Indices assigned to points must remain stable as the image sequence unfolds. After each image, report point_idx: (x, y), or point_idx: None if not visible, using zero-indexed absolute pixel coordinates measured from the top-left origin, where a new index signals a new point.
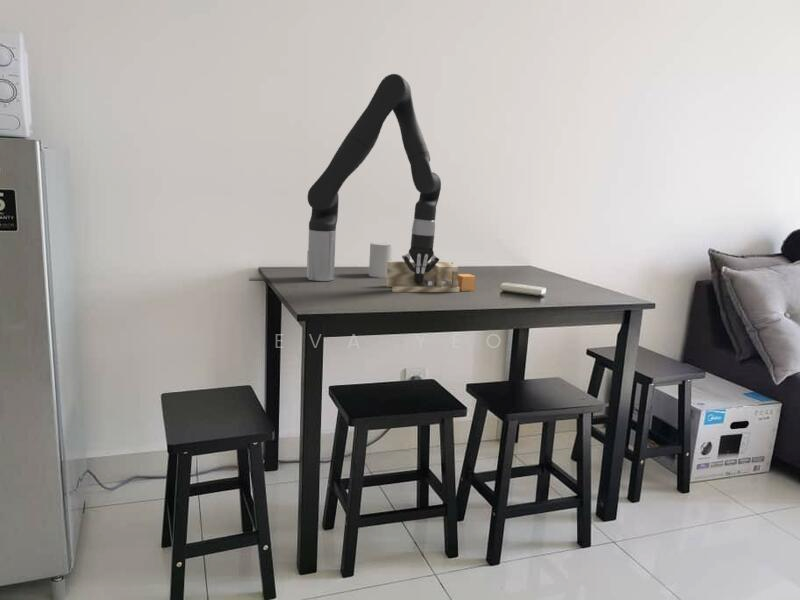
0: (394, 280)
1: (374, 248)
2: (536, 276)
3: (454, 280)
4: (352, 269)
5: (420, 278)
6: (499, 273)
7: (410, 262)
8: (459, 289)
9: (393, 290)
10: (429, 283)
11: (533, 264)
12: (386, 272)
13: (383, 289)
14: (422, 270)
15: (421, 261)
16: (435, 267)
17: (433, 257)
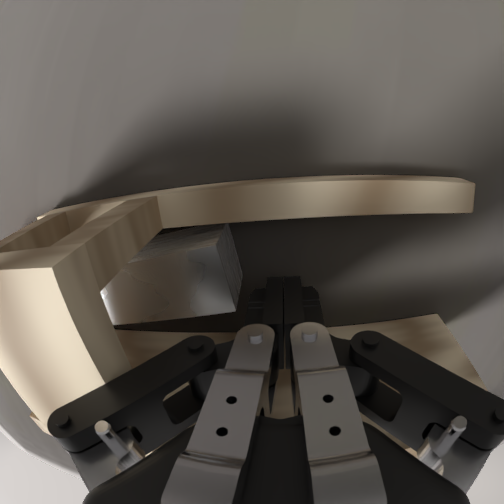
0: (418, 340)
1: None
2: None
3: (30, 228)
4: None
5: (276, 298)
6: (36, 433)
7: (429, 397)
8: (44, 214)
9: (462, 179)
10: (206, 241)
11: (26, 452)
12: None
13: (479, 243)
14: (260, 345)
15: (278, 433)
16: (109, 353)
17: (102, 465)
